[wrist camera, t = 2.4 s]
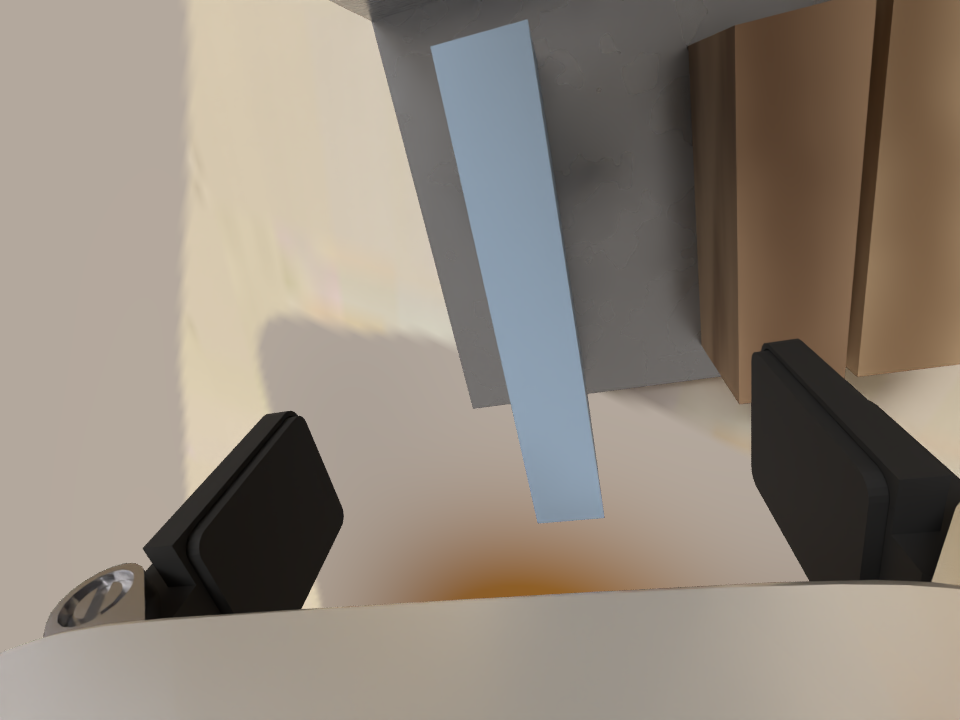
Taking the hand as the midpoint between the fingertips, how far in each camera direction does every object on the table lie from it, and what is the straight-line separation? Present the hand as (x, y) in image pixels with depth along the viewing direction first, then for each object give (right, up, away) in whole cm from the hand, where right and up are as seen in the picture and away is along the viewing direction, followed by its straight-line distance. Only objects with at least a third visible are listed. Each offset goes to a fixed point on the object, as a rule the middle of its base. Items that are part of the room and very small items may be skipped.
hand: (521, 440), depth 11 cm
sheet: (+2, +8, +15) cm, 17 cm away
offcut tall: (+11, +9, +13) cm, 20 cm away
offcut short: (+16, +10, +12) cm, 22 cm away
